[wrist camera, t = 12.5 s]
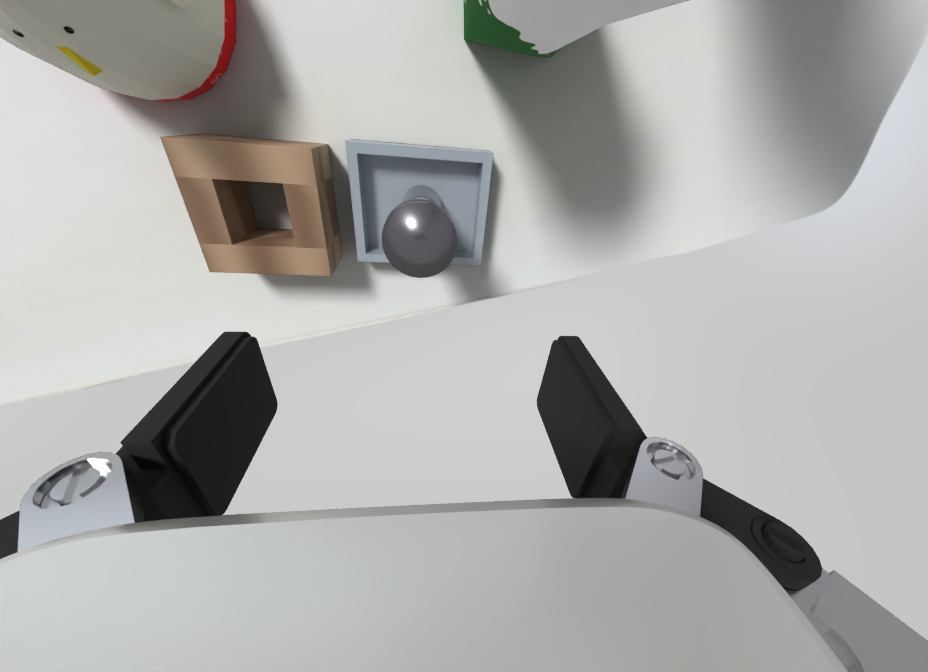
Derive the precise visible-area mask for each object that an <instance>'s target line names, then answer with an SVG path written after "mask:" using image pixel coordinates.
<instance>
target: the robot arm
mask: <svg viewBox="0 0 928 672" xmlns="http://www.w3.org/2000/svg"><path fill="white" fill-rule="evenodd" d="M537 407H538V410H539V413H540V416H541V418H542V421H543V423H544V426H545V429H546V431H547V434H548V437H549V439H550V442H551V444H552V447H553V450H554V453H555V455H556V458H557V460H558V463H559V466H560V468H561V471H562V474H563V476H564V479H565V481H566V484H567V487H568V490H569V492H570V494H571V496H572V497H573V498H576V499H540V500H517V501H494V502H471V503H449V504H428V505H409V506H389V507H388V506H387V507H368V508H347V509H328V510H309V511H292V512H275V513H274V512H273V513H254V514H237V515H223V514H224V513H225V511H226V509H227V508H228V506H229V504H230V502H231V500H232V498H233V496H234V494H235V492H236V490H237V488H238V486H239V484H240V482H241V480H242V478H243V476H244V474H245V472H246V470H247V468H248V466H249V465H250V462H251V461H252V458H253V457H254V455H255V453H256V451H257V449H258V447H259V445H260V443H261V441H262V439H263V437H264V435H265V433H266V431H267V429H268V427H269V425H270V423H271V421H272V419H273V417H274V415H275V413H276V410H277V399H276V396H275V393H274V390H273V387H272V384H271V381H270V378H269V375H268V372H267V369H266V366H265V363H264V360H263V356H262V353H261V350H260V347H259V344H258V341H257V339H256V338H255V337H251V335H250V334H249V333H247V332H224V333H223V334H221V336H220V337H219V338H218V339H217V340H216V341H215V342H214V343H213V344H212V345H211V346H210V347H209V348H208V349H207V350H206V352H205V353H204V354H203V355H202V356H201V357H200V358H199V359H198V360H197V361H196V362H195V363H194V364H193V365H192V366H191V368H190V369H189V370H188V371H187V372H186V373H185V374H184V375H183V376H182V377H181V378H180V379H179V380H178V381H177V383H176V384H175V385H174V386H173V387H172V388H171V389H170V390H169V391H168V392H167V393H166V394H165V395H164V396H163V397H162V399H161V400H160V401H159V402H158V403H157V404H156V405H155V406H154V407H153V408H152V409H151V410H150V411H149V412H148V414H147V415H146V416H145V417H144V418H143V419H142V420H141V421H140V422H139V423H138V424H137V425H136V426H135V427H134V428H133V430H132V431H131V432H130V433H129V434H128V435H127V436H126V437H125V438H124V439H123V440H122V441H121V444H122V445H123V446H122V448H121V449H120V450H119V451H118V452H117V453H116V454H113V453H111V452H97V453H92V454H87V455H83V456H80V457H77V458H74V459H72V460H70V461H67V462H65V463H63V464H61V465H59V466H57V467H56V468H54V469H52V470H51V471H49V472H48V473H46V474H45V475H43V476H42V477H41V478H40V479H38V480H37V481H36V482H35V483H34V484H33V485H31V487H30V488H29V489H28V491H27V492H26V493H25V494H24V496H23V498H22V501H21V504H20V511H18V512H16V513H13V514H11V515H9V516H7V517H5V518H3V519H1V520H0V672H928V641H927V640H926V639H925V638H923V637H922V636H921V635H919V634H918V633H917V632H915V631H914V630H913V629H911V628H910V627H909V626H907V625H906V624H905V623H903V622H902V621H901V620H899V619H898V618H897V617H895V616H894V615H893V614H891V613H890V612H889V611H887V610H886V609H885V608H883V607H882V606H881V605H880V604H878V603H877V602H876V601H874V600H873V599H872V598H870V597H869V596H868V595H866V594H865V593H864V592H862V591H861V590H860V589H858V588H857V587H855V586H854V585H853V584H851V583H850V582H849V581H848V580H846V579H845V578H844V577H842V576H841V575H840V574H838V573H837V572H836V571H834V570H833V571H832V572H830V573H827V572H826V571H825V570H824V569H822V567H821V563H820V560H819V558H818V556H817V555H816V553H815V551H814V550H813V548H812V547H811V546H810V545H809V544H808V543H807V542H806V540H805V539H804V538H803V537H802V536H801V535H799V534H798V533H797V532H796V531H795V530H794V529H792V528H791V527H789V526H788V525H786V524H785V523H783V522H782V521H780V520H778V519H776V518H775V517H773V516H771V515H769V514H767V513H765V512H763V511H762V510H760V509H758V508H756V507H754V506H752V505H751V504H749V503H747V502H745V501H743V500H742V499H740V498H738V497H736V496H734V495H732V494H731V493H729V492H726V491H725V490H723V489H721V488H720V487H718V486H716V485H714V484H712V483H710V482H709V481H707V480H705V479H703V472H702V468H701V466H700V464H699V462H698V461H697V459H696V458H695V457H694V456H693V455H692V454H691V453H690V452H689V451H688V450H686V449H685V448H684V447H682V446H681V445H679V444H677V443H675V442H673V441H671V440H668V439H665V438H659V437H652V438H647V437H646V435H645V434H644V432H643V431H642V429H641V428H640V426H639V425H638V423H637V422H636V420H635V419H634V417H633V416H632V414H631V413H630V411H629V410H628V409H627V407H626V406H625V404H624V403H623V401H622V400H621V398H620V397H619V395H618V394H617V392H616V391H615V390H614V388H613V387H612V385H611V384H610V382H609V381H608V379H607V378H606V376H605V375H604V373H603V372H602V371H601V369H600V368H599V366H598V365H597V363H596V362H595V360H594V359H593V357H592V356H591V354H590V353H589V351H588V350H587V349H586V347H585V346H584V344H583V343H582V341H581V340H580V338H579V337H577V336H560V337H559V338H558V340H554V341H553V343H552V346H551V350H550V354H549V357H548V361H547V365H546V368H545V372H544V375H543V379H542V383H541V387H540V390H539V394H538V397H537Z"/></svg>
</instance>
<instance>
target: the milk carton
mask: <svg viewBox="0 0 928 672" xmlns="http://www.w3.org/2000/svg"><path fill="white" fill-rule="evenodd" d="M685 1H689V0H464V40H469V41H473V42H477V43H482V44H486V45H490V46H494V47H498V48H502V49H507V50H511V51H515V52H520V53H524V54H529V55H534V56H540V57H552V56H553V55H554V54H555V53H556V52H557V51H558V50H560V49H561V48H562V47H564V46H565V45H567V44H569V43H571V42H573V41H575V40H577V39H579V38H581V37H583V36H585V35H587V34H589V33H591V32H593V31H595V30H597V29H599V28H600V27H602V26H605V25H607V24H610V23H613V22H616V21H620V20H623V19H626V18H630V17H633V16H637V15H640V14H643V13H647V12H650V11H654V10H657V9H661V8H664V7H668V6H671V5H675V4H678V3H682V2H685Z"/></svg>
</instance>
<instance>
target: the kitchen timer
mask: <svg viewBox="0 0 928 672" xmlns="http://www.w3.org/2000/svg"><path fill="white" fill-rule="evenodd" d="M0 37H1V38H3V39H4V40H6V41H7V42H9V43H11V44H12V45H14V46H16V47H18V48H19V49H21V50H23V51H25V52H27V53H29V54H31V55H33V56H35V57H37V58H39V59H41V60H43V61H45V62H47V63H50V64H52V65H54V66H56V67H58V68H60V69H62V70H64V71H66V72H68V73H70V74H72V75H74V76H76V77H78V78H80V79H82V80H84V81H86V82H89V83H91V84H93V85H95V86H98V87H100V88H102V89H106V90H109V91H112V92H116V93H121V94H125V95H129V96H134V97H138V98H142V99H147V100H154V101H172V100H186V99H192V98H194V97H196V96H198V95H200V94H202V93H204V92H206V91H208V90H209V89H211V88H212V87H213V86H214V85H215V84H216V82H217V81H218V80H219V79H220V77H221V76H222V75H223V74H224V72H225V71H226V70H227V68H228V65H229V61H230V58H231V55H232V52H233V49H234V45H235V42H236V6H235V1H234V0H0Z"/></svg>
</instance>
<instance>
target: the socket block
mask: <svg viewBox="0 0 928 672" xmlns="http://www.w3.org/2000/svg"><path fill="white" fill-rule="evenodd" d="M160 138H161V140H162V143H163V146H164V148H165V151H166V154H167V157H168V159H169V162H170V165H171V168H172V170H173V173H174V176H175V178H176V181H177V184H178V187H179V189H180V192H181V195H182V197H183V200H184V203H185V206H186V208H187V211H188V214H189V217H190V219H191V222H192V225H193V227H194V230H195V233H196V236H197V238H198V241H199V244H200V247H201V249H202V252H203V255H204V257H205V260H206V263H207V266H208V268H209V271H210V272H224V273H255V274H285V275H316V276H331V275H332V273H333V271H334V270H335V268H336V266H337V265H338V263H339V261H340V260H341V258H342V249H341V242H340V234H339V226H338V219H337V211H336V203H335V195H334V188H333V180H332V172H331V164H330V157H329V149H328V144H321V143H308V142H296V141H283V140H271V139H258V138H246V137H233V136H221V135H208V134H194V135H180V136H167V137H160ZM246 181H253V182H268V183H283V188H284V193H285V198H286V203H287V207H288V212H289V217H290V222H291V227H292V230H289V229H269V228H258V227H257V223H256V219H255V216H254V212H253V208H252V204H251V200H250V196H249V193H248V189H247V185H246Z"/></svg>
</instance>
